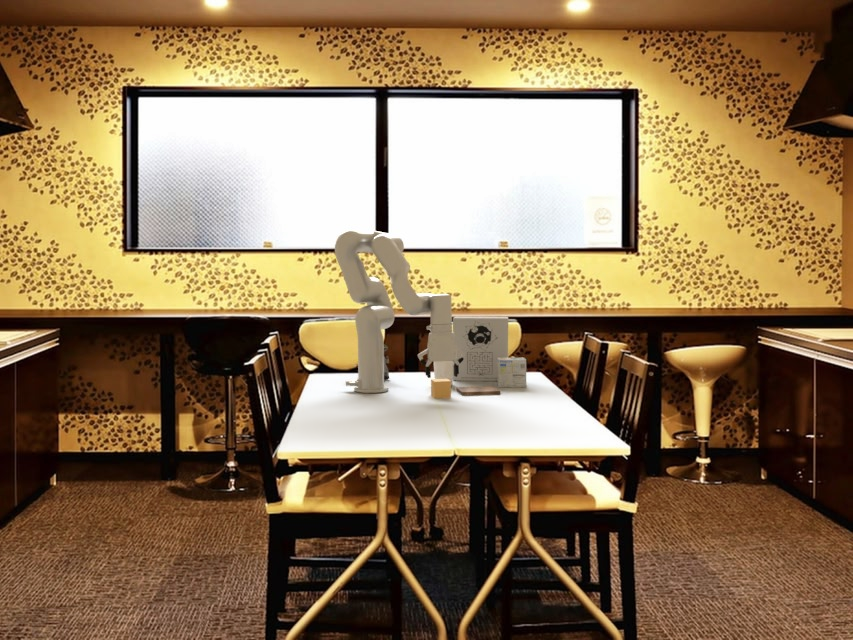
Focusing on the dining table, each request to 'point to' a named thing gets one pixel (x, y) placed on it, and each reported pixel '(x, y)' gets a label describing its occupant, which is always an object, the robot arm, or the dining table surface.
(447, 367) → the white cup
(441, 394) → the ochre cube
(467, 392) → the walnut board
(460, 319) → the cereal box
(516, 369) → the light bulb box
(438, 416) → the dining table surface
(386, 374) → the figurine
